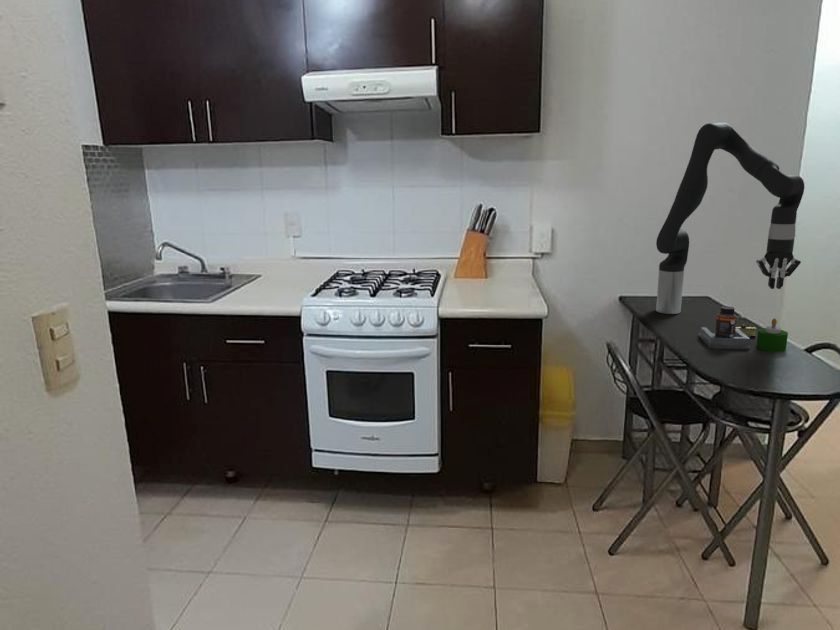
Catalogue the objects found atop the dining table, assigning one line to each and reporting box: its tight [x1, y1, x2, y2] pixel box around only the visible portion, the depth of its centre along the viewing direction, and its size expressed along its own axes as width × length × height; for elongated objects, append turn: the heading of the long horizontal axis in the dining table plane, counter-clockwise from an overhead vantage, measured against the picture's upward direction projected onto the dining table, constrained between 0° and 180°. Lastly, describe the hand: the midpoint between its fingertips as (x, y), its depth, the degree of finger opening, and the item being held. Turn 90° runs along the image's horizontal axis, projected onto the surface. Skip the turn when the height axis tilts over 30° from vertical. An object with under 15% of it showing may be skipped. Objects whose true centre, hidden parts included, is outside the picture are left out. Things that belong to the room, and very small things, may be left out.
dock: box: [698, 326, 751, 350], centre depth 197 cm, size 14×12×4 cm
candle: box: [756, 317, 789, 353], centre depth 189 cm, size 8×8×10 cm
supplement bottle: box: [715, 305, 738, 337], centre depth 195 cm, size 6×6×11 cm
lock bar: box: [736, 323, 758, 338], centre depth 203 cm, size 2×8×4 cm, turn 79°
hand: (775, 288), depth 198 cm, fingers closed
